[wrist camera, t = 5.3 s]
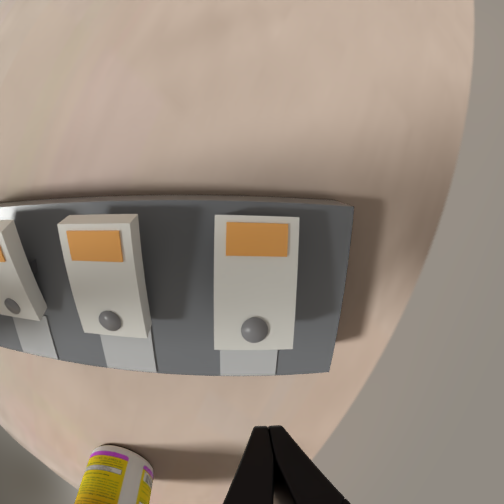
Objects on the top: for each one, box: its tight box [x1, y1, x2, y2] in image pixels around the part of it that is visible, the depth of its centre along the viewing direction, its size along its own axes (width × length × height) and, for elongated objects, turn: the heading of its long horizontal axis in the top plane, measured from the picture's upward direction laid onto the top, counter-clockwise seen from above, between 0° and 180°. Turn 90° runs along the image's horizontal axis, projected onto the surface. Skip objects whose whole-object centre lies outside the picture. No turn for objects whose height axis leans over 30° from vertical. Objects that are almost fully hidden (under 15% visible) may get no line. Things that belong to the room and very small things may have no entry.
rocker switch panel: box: [0, 195, 354, 376], centre depth 16 cm, size 24×10×4 cm, turn 88°
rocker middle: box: [57, 214, 152, 338], centre depth 13 cm, size 6×4×1 cm, turn 177°
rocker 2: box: [214, 215, 299, 350], centre depth 14 cm, size 6×4×1 cm, turn 178°
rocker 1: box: [0, 220, 47, 321], centre depth 13 cm, size 6×4×1 cm, turn 177°
